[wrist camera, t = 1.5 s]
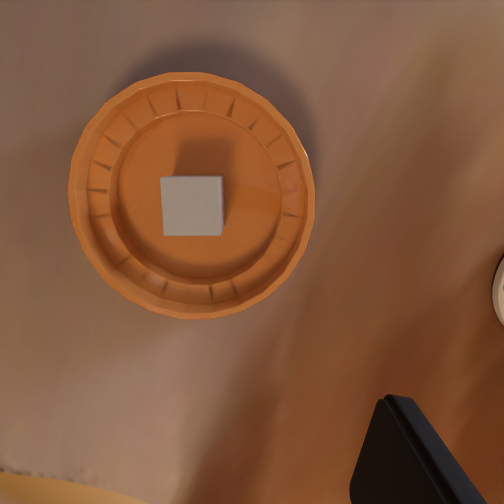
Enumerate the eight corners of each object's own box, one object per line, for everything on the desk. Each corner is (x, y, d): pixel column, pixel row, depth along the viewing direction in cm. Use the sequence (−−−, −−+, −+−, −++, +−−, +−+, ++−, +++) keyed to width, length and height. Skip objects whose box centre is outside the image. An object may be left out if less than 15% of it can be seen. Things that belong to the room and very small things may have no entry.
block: (223, 174, 31) (219, 177, 26) (225, 225, 32) (221, 235, 28) (172, 175, 31) (159, 177, 26) (175, 225, 32) (163, 235, 28)
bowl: (310, 84, 30) (320, 71, 25) (302, 299, 34) (310, 318, 30) (80, 85, 30) (51, 72, 25) (105, 299, 34) (83, 319, 30)
